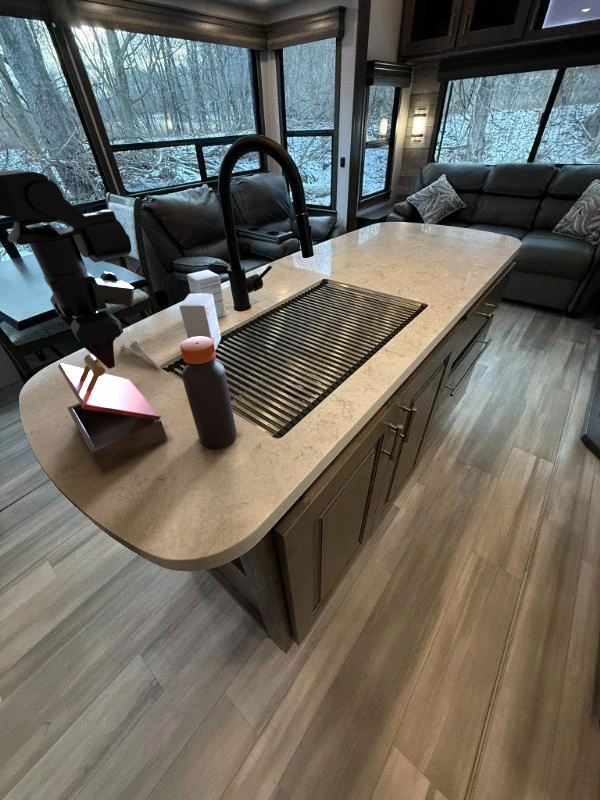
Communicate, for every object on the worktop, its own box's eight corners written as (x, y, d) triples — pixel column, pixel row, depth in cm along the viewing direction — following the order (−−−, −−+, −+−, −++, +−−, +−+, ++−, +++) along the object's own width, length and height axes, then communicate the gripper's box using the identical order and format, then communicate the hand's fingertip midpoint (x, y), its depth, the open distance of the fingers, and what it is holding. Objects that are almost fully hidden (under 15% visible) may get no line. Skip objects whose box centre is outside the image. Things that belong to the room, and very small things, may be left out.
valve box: (103, 472, 56) (91, 453, 53) (77, 426, 65) (66, 407, 62) (168, 439, 62) (161, 420, 59) (136, 401, 71) (129, 382, 68)
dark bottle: (200, 454, 59) (171, 357, 46) (200, 429, 64) (174, 335, 52) (238, 447, 60) (220, 351, 48) (235, 423, 65) (218, 330, 53)
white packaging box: (194, 314, 106) (185, 274, 98) (215, 308, 109) (208, 268, 102) (205, 322, 101) (196, 280, 93) (226, 315, 105) (220, 274, 97)
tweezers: (119, 348, 89) (117, 342, 88) (136, 342, 92) (134, 336, 90) (152, 377, 80) (150, 370, 79) (170, 369, 83) (168, 362, 82)
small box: (199, 338, 93) (188, 293, 85) (221, 338, 93) (213, 293, 85) (190, 353, 87) (178, 305, 79) (214, 353, 86) (204, 305, 78)
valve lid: (82, 408, 49) (97, 376, 48) (57, 366, 58) (69, 339, 57) (159, 420, 59) (172, 393, 58) (127, 382, 68) (138, 359, 67)
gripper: (140, 272, 49) (167, 361, 59) (101, 248, 60) (130, 327, 70) (55, 291, 44) (101, 386, 53) (30, 261, 55) (72, 344, 64)
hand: (103, 357), depth 60 cm, fingers open, 9 cm apart
